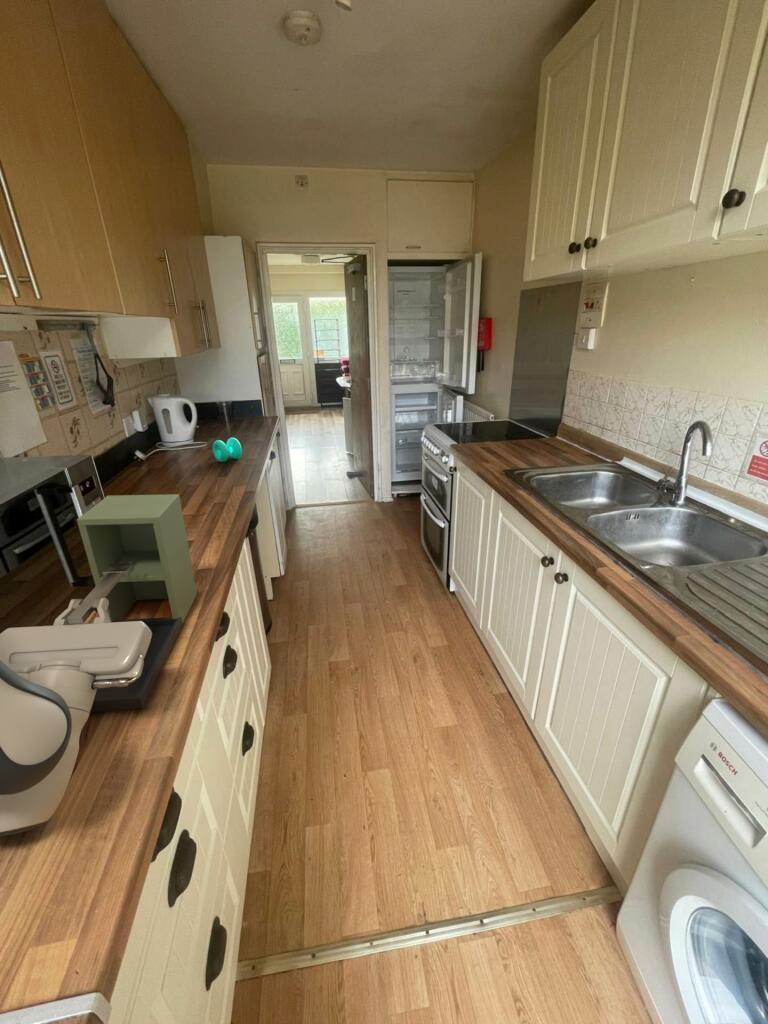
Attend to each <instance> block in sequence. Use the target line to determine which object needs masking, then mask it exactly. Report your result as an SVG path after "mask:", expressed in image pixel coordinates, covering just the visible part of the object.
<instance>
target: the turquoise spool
mask: <svg viewBox="0 0 768 1024" xmlns="http://www.w3.org/2000/svg"><path fill="white" fill-rule="evenodd" d="M212 453H213V456H214V458H215V459H216V461H218V462H219V463H225V462H226V461H227V460H228V459H229V457H230V458H232V459H234V460H238V459H240V458H241V457H242V454H243V449H242V445H241V443H240V441H239V440H238V439H237V438H235V437H230V438H228V439H227V441H226V443H225V442H224V441H222V440H220V439H219V440H218V439H217V440H215V441H214V442H213V443H212Z"/></svg>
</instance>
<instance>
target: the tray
mask: <svg viewBox="0 0 768 1024" xmlns="http://www.w3.org/2000/svg"><path fill="white" fill-rule="evenodd" d="M131 621H142V622H144V623H145V624H146V625H147V626H148V627H149V629H150V630H151V632H152V637H151V641H150V644H149V647H148V650H147V652H146V655H145V657H144V665H143V669H142V673H141V675H140V677H139V678H138V679H136V680H135V681H134V682H132V683H129V684H128V686H125V687H109V688H100V689H97V691H96V694H95V697H94V701H93V704H92V708H91V711H90V713H98V712H111V711H124V710H125V711H126V710H138V709H139V710H140V709H143V708H144V706H145V704H146V703H147V700H148V698H149V697H150V694H151V692H152V690H153V688H154V686H155V684H156V682H157V680H158V678H159V676H160V674H161V672H162V670H163V667H164V665H165V664H166V661H167V660H168V657H169V656H170V653H171V651H172V649H173V647H174V644H175V643H176V641H177V639H178V637H179V635H180V633H181V630H182V628H183V626H184V625H183V624H182V619H181V617H179V619H173V617H172V616H169V617H150V618H148V617H147V618H132V619H129V618H128V619H123V620H113V621H112V622H111V623H113V622H131ZM129 680H131V679H129Z"/></svg>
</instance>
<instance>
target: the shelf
mask: <svg viewBox="0 0 768 1024" xmlns="http://www.w3.org/2000/svg"><path fill="white" fill-rule="evenodd" d="M76 522H77V526H78V529H79V533H80V536H81V540H82V543H83V548H84V551H85V554H86V558H87V561H88V565H89V568H90V572H91V575H92V579H93V581H94V585H95V587H96V586H97V584H98V583H99V582H100V581H101V580H102V579H103V578H104V577H103V573H102V572H103V571H104V570H105V569H106V568H107V567H108V566H109V565H110V564H116V563H117V562H118V561H121V564H123V563H124V562H125V561H129V563H132V562H133V561H137V564H136V566H135V567H134V568H135V569H134V570H133V571H132V572H131V574H130V575H129V576H128V577H122V578H121V579H120V580H119V581H118V583H117V584H116V585H115V586H114V587H113V589H112V590H111V591H110V592H109V593H108V595H107V596H106V597H105V598H106V599H107V600H108V601H109V604H108V608H107V613H108V616H109V619H110V621H111V622H112V621H113V620H124V618H125V617H126V616H127V614H128V613H129V612H130V610H131V608H132V607H133V606H134V604H135V603H136V602H137V601H144V600H145V601H147V600H166V599H168V602H169V607H170V613H171V617H173V619H179V617H181V619H182V624H183V623H184V622H185V619H186V618H187V615H188V614H189V611H190V610H191V607H192V605H193V603H194V601H195V599H196V597H197V595H198V594H197V588H196V582H195V576H194V571H193V564H192V559H191V554H190V553H191V552H190V547H189V542H188V537H187V532H186V524H185V520H184V514H183V508H182V501H181V497H180V494H179V493H177V494H176V493H175V494H173V493H172V494H171V493H170V494H124V495H123V494H119V495H117V494H116V495H106V496H105V497H104V498H102V500H100V501H99V502H97V503H96V504H95V505H94V506H92V507H91V508H90V509H88V510H87V511H86V512H85V513H83V514H81V516H79V517H78V518H77V519H76Z"/></svg>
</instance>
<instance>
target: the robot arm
mask: <svg viewBox="0 0 768 1024" xmlns="http://www.w3.org/2000/svg"><path fill="white" fill-rule="evenodd" d="M83 600H84V598H73V599H72V598H71V600H70V602H69V604H68V607H67V608H66V609H65V610H64V611H62V612H61V614H59V615H58V616H57V617H56V618H55V619H54V622H53V625H41V626H40V625H39V626H21V627H19V626H18V627H8V628H6V629H5V630H3V631H2V632H0V837H3V836H4V837H5V836H8V835H9V836H10V835H14V834H20V833H23V832H27V831H31V830H33V829H36V828H39V827H40V826H42V825H44V824H45V823H47V822H48V821H49V820H50V819H51V818H52V817H53V815H54V814H55V812H57V809H58V807H59V806H60V804H61V802H62V800H63V797H64V795H65V794H66V791H67V788H68V785H69V783H70V781H71V777H72V774H73V771H74V768H75V765H76V762H77V758H78V755H79V752H80V738H81V737H80V736H81V733H82V730H83V728H84V727H85V725H86V723H87V721H88V720H89V717H90V714H91V712H90V711H91V708H92V704H93V701H94V697H95V694H96V691H97V689H100V688H109V687H125V686H128V684H129V683H132V682H134V681H135V680H136V679H138V678H139V677H140V675H141V673H142V669H143V665H144V657H145V655H146V652H147V650H148V647H149V644H150V641H151V637H152V632H151V630H150V629H149V627H148V626H147V625H146V624H145V623H144V622H142V621H131V622H113V623H111V621H110V619H109V616H108V613H107V608H108V604H109V601H108V600H107V599H106V598H95V599H94V603H93V604H92V609H94V612H96V613H98V614H97V615H98V617H97V616H96V617H94V620H93V623H83V624H69V622H68V619H67V618H68V617H69V616H70V614H71V613H72V612H73V611H74V610H75V609H76V608H77V607H78V606H79V604H80V603H81V602H82V601H83ZM129 679H131V680H129Z"/></svg>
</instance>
